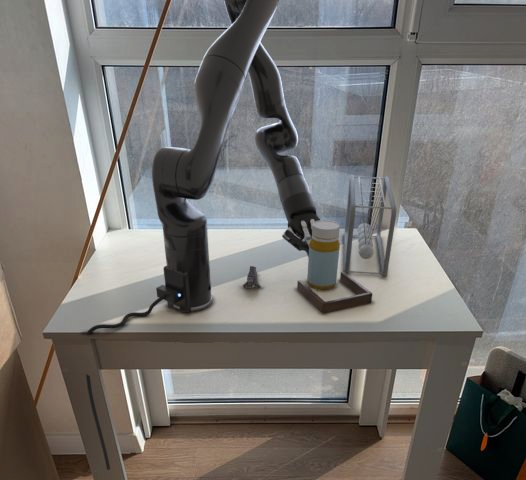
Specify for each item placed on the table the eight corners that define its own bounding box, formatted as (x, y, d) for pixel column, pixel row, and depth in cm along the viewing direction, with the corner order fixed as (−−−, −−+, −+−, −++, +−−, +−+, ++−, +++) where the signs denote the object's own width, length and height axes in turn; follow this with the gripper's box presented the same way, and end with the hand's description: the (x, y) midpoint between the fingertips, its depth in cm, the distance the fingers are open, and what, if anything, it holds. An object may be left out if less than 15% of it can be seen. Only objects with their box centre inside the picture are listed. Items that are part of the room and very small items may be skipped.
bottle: (340, 281, 124) (346, 222, 116) (328, 293, 119) (334, 232, 111) (314, 275, 127) (318, 217, 119) (302, 286, 122) (305, 226, 114)
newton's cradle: (386, 280, 125) (397, 209, 115) (343, 277, 127) (351, 207, 117) (379, 235, 150) (388, 174, 140) (344, 233, 151) (350, 172, 141)
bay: (296, 289, 121) (297, 280, 119) (342, 280, 125) (343, 271, 124) (322, 313, 111) (323, 303, 110) (371, 303, 115) (372, 293, 114)
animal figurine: (246, 279, 128) (246, 259, 126) (263, 280, 128) (264, 260, 125) (239, 293, 117) (239, 272, 115) (258, 294, 117) (258, 273, 115)
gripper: (276, 194, 119) (298, 263, 117) (325, 187, 123) (347, 253, 121) (267, 209, 126) (287, 274, 124) (313, 202, 130) (334, 265, 128)
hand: (317, 263), depth 122 cm, fingers closed
